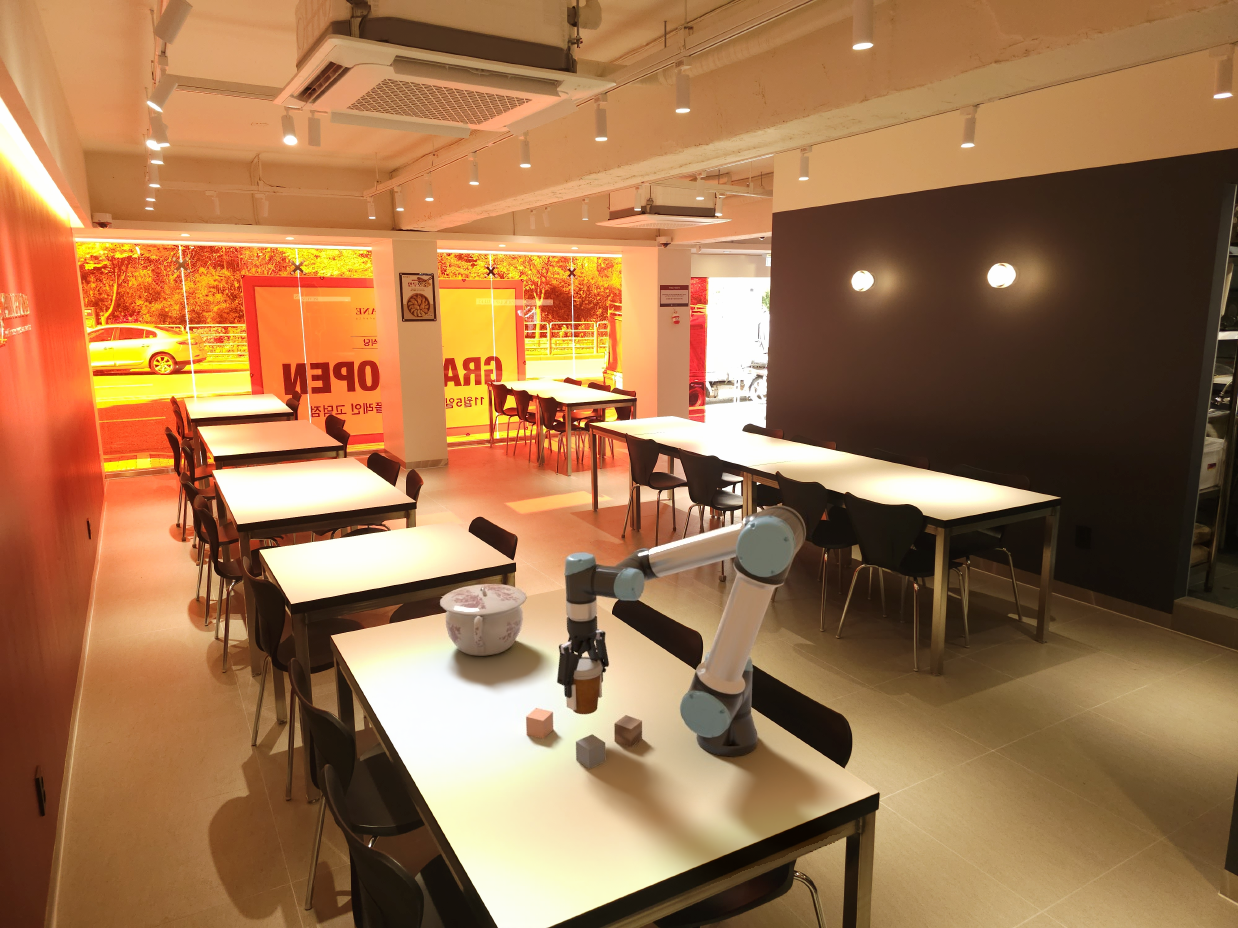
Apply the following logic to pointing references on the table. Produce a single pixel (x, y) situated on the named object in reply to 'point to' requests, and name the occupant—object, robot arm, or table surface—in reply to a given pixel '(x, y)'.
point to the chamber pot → (484, 617)
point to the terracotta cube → (539, 723)
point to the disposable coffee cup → (587, 685)
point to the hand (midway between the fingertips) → (584, 701)
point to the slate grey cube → (590, 751)
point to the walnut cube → (628, 731)
